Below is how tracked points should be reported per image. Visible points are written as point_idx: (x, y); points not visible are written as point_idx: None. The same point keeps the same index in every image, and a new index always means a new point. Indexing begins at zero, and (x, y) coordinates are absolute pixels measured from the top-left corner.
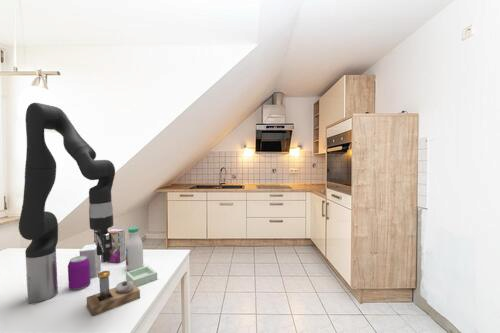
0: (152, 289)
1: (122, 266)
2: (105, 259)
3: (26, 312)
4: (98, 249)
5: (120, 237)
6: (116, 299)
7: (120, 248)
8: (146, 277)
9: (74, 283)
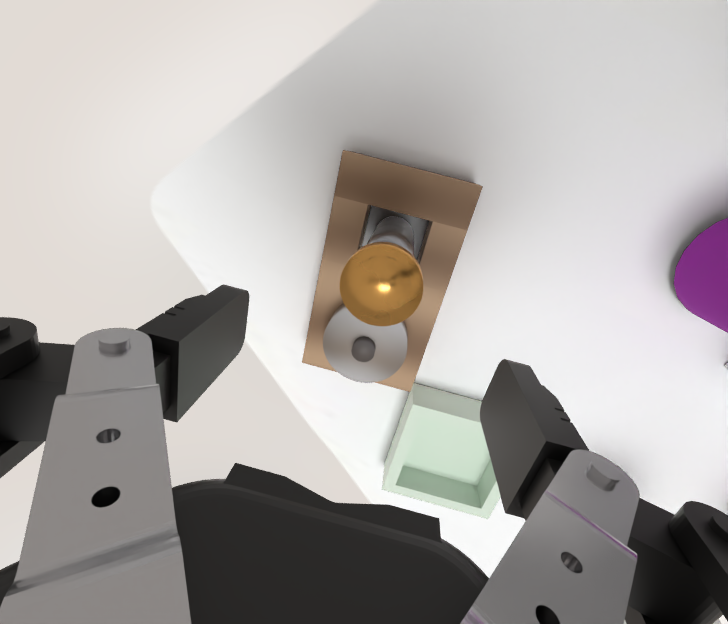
0: (327, 405)
1: (674, 484)
2: (183, 302)
3: None
4: (518, 415)
5: None
6: (321, 264)
7: None
8: (395, 446)
9: None
